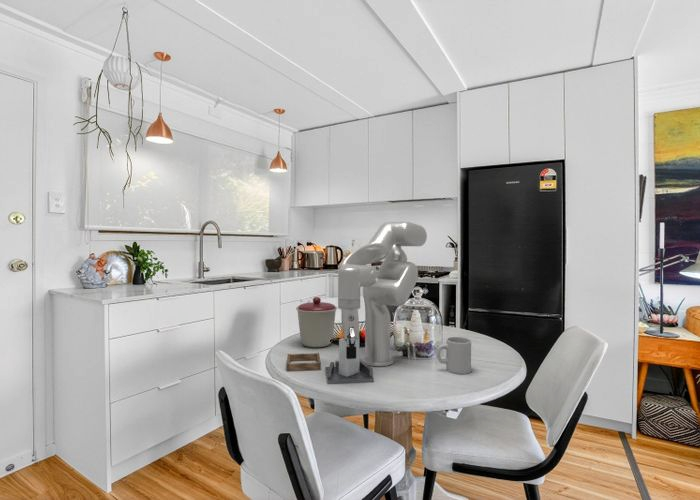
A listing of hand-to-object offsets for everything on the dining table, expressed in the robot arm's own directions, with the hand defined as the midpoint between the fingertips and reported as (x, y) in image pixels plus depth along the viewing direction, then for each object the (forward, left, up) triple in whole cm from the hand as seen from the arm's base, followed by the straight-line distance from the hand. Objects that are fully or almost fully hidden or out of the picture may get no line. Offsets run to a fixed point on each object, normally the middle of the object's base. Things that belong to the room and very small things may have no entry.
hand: (349, 353), depth 129 cm
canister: (+9, -41, -8) cm, 43 cm away
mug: (-38, -2, -8) cm, 39 cm away
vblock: (0, -1, -8) cm, 8 cm away
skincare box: (0, +1, -7) cm, 7 cm away
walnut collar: (+15, -14, -8) cm, 22 cm away
